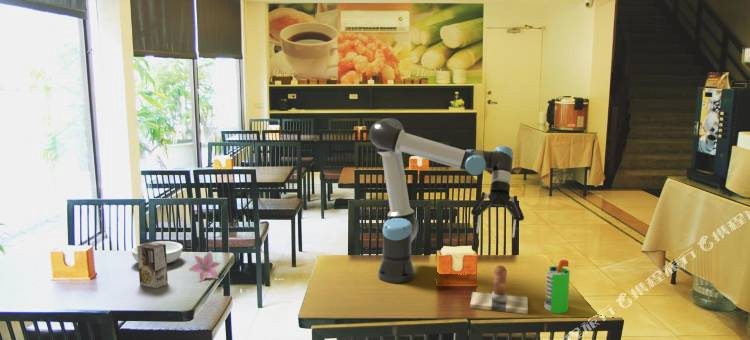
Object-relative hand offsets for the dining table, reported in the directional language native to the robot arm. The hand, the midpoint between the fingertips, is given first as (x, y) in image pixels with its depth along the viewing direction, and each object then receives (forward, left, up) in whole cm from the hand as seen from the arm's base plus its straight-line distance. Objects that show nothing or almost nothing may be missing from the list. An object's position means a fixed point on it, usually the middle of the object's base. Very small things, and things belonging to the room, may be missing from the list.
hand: (495, 234), depth 222 cm
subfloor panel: (+3, -16, -22) cm, 27 cm away
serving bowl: (-144, -6, -22) cm, 146 cm away
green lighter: (+23, -14, -22) cm, 35 cm away
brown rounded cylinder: (+3, -16, -20) cm, 26 cm away
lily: (-115, -18, -22) cm, 118 cm away
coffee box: (-130, -30, -22) cm, 135 cm away
